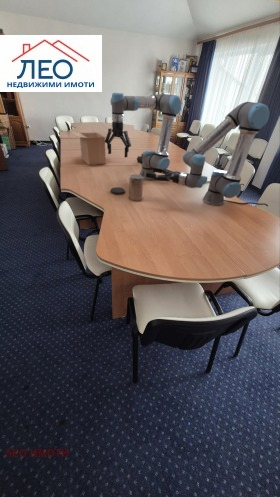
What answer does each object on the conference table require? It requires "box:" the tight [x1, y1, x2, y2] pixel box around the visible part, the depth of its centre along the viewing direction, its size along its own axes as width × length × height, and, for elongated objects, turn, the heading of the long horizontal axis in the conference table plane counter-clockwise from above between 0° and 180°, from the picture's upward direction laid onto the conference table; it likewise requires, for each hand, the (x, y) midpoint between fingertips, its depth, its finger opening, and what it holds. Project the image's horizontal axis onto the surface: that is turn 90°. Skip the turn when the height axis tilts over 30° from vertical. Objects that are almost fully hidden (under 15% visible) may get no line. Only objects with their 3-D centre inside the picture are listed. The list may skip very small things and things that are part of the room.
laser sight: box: [136, 153, 143, 164], centre depth 240 cm, size 10×22×10 cm, turn 78°
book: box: [185, 172, 208, 188], centre depth 200 cm, size 23×16×5 cm
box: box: [70, 129, 112, 166], centre depth 229 cm, size 44×36×27 cm
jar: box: [128, 173, 144, 202], centre depth 162 cm, size 10×10×16 cm
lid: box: [110, 186, 126, 196], centre depth 173 cm, size 11×11×2 cm
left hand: (117, 155), depth 158 cm, fingers open, 13 cm apart
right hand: (149, 172), depth 151 cm, fingers open, 13 cm apart
